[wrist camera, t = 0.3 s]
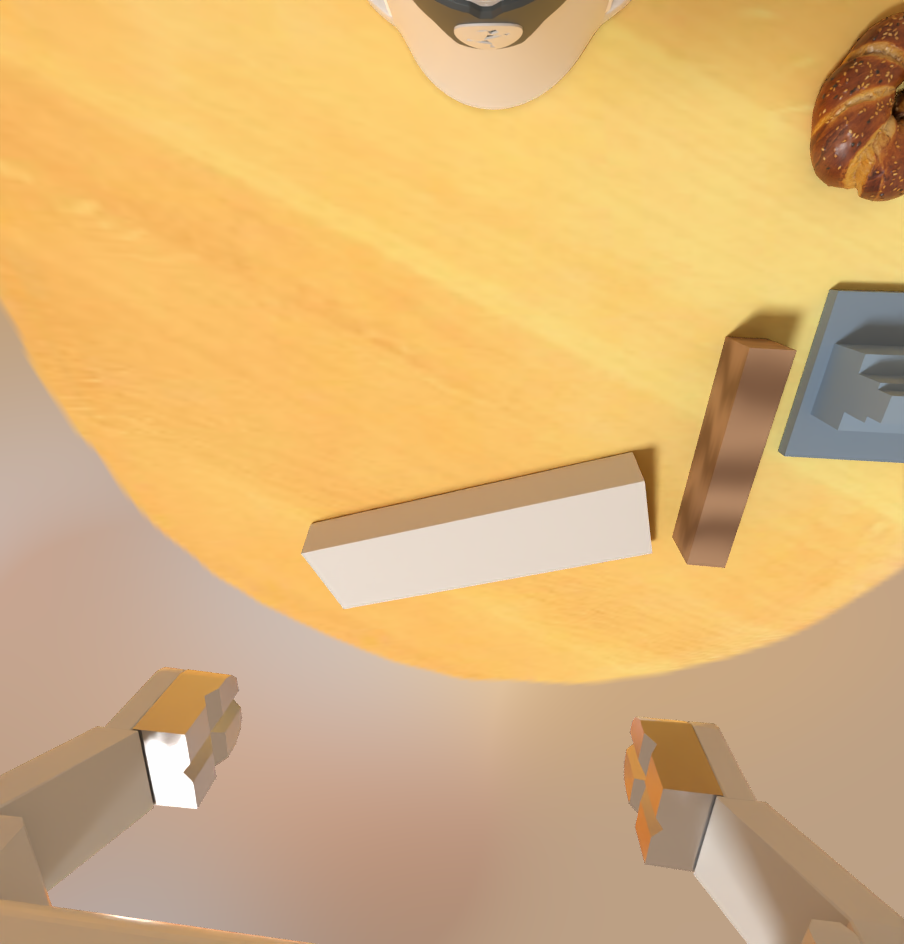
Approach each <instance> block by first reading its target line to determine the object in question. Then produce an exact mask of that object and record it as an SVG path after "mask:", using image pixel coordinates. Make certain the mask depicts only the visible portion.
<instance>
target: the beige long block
mask: <svg viewBox="0 0 904 944" xmlns="http://www.w3.org/2000/svg"><path fill="white" fill-rule="evenodd" d="M651 553H652V546H651V537H650V527H649V518H648V509H647V499H646V490H645V481H644V478H643V476H642V473H641V471H640V469H639V466H638V464H637V461H636V459H635V457H634V454H633V452H629V453H624V454H620V455H615V456H611V457H606V458H602V459H597V460H593V461H588V462H584V463H579V464H574V465H570V466H566V467H561V468H557V469H552V470H548V471H544V472H540V473H535V474H531V475H526V476H522V477H517V478H513V479H508V480H504V481H499V482H495V483H491V484H486V485H481V486H477V487H472V488H468V489H463V490H459V491H454V492H450V493H446V494H441V495H437V496H433V497H428V498H424V499H419V500H415V501H410V502H406V503H402V504H397V505H393V506H388V507H384V508H379V509H374V510H370V511H365V512H361V513H356V514H352V515H348V516H343V517H339V518H335V519H330V520H326V521H321V522H317V523H312V524H311V526H310V528H309V531H308V534H307V537H306V540H305V543H304V546H303V549H302V553H301V554H302V555H303V557H304V558H305V559H306V560H307V562H308V563H309V564H310V566H311V567H312V568H313V570H314V571H315V572H316V574H317V575H318V576H319V577H320V579H321V580H322V581H323V583H324V584H325V585H326V586H327V588H328V589H329V590H330V592H331V593H332V594H333V596H334V597H335V598H336V599H337V601H338V602H339V603H340V605H341V606H342V607H343V609H347V608H352V607H358V606H363V605H369V604H374V603H380V602H385V601H391V600H397V599H402V598H408V597H413V596H419V595H424V594H430V593H435V592H441V591H446V590H452V589H457V588H463V587H468V586H474V585H479V584H485V583H490V582H496V581H502V580H507V579H513V578H518V577H524V576H529V575H535V574H540V573H546V572H551V571H557V570H562V569H568V568H573V567H579V566H584V565H590V564H596V563H601V562H607V561H612V560H618V559H623V558H629V557H634V556H640V555H645V554H651Z"/></svg>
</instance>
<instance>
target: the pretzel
mask: <svg viewBox="0 0 904 944" xmlns="http://www.w3.org/2000/svg"><path fill="white" fill-rule="evenodd" d="M903 81H904V12H902V13H898V14H895V15H891V16H890V17H886V18H885V19H882V20H881V21H880V22H878V23H877V24H875V25H873V26H872V27H870V29H869V30H868V31H867V32H866V33H865V34H864V35H863V36H862V37H861V38H859V39H858V40H857V43H856V44H855V45H854V46H853V47H852V49H851V50H850V52H849V54H848V55H847V57H846V58H845V59H844V61H843V63H842V64H841V66H839V67H838V68H837V69H836V70H835V71H834V72H833V73H832V74H831V76H830V77H829V78H828V79H826V82H825V83H824V84H823V86H822V88H821V91H820V93H819V95H818V97H817V100H816V103H815V107H814V111H813V117H812V131H811V142H810V156H811V161H812V165H813V168H814V170H815V173H816V175H817V176H818V177H819V178H820V179H821V180H822V181H823V182H824V183H826V184H827V185H828V186H833V187H839V188H845V189H851V188H857V190H858V195H859V197H861V198H864V199H868V200H871V201H887V200H891V199H894V198H897V197H899V196H902V195H904V93H902V94H898V95H897V97H896V98H895V95H896V88H897V87H898V86H899V85H900V84H901V83H902V82H903ZM893 104H894V105H893Z"/></svg>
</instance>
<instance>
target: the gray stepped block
mask: <svg viewBox="0 0 904 944" xmlns="http://www.w3.org/2000/svg"><path fill="white" fill-rule="evenodd" d="M778 451H779V452H780V453H781V454H782V455H784V456H791V457H809V458H826V459H844V460H861V461H879V462H896V463H904V292H896V291H862V290H829V293H828V297H827V300H826V303H825V306H824V309H823V312H822V315H821V318H820V321H819V325H818V328H817V331H816V334H815V337H814V340H813V343H812V346H811V350H810V353H809V356H808V359H807V362H806V365H805V368H804V371H803V374H802V378H801V381H800V384H799V387H798V390H797V393H796V396H795V399H794V403H793V406H792V409H791V412H790V415H789V418H788V421H787V424H786V427H785V431H784V434H783V437H782V440H781V443H780V446H779V449H778Z"/></svg>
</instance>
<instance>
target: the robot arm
mask: <svg viewBox="0 0 904 944" xmlns="http://www.w3.org/2000/svg"><path fill="white" fill-rule="evenodd" d="M630 1H631V0H368V2H369V3H370V5H371V6H372V7H373V8H374V9H375V10H376V11H377V12H378V13H379V14H380V15H381V16H382V17H384V18H385V19H386V20H387V21H388V22H390V23H391V24H392V25H394V26H395V27H396V28H397V29H398V31H399V32H400V33H401V35H402V37H403V38H404V40H405V42H406V44H407V46H408V47H409V49H410V51H411V53H412V55H413V57H414V59H415V60H416V62H417V64H418V65H419V67H420V68H421V70H422V71H423V72H424V73H425V75H426V76H427V77H428V78H429V79H430V80H431V82H432V83H433V84H434V85H435V86H437V87H438V88H439V89H440V90H441V91H443V92H444V93H445V94H447V95H448V96H450V97H451V98H453V99H455V100H457V101H459V102H461V103H463V104H466V105H469V106H472V107H476V108H482V109H505V108H511V107H515V106H518V105H521V104H524V103H526V102H529V101H531V100H533V99H535V98H537V97H538V96H540V95H542V94H543V93H545V92H546V91H548V90H549V89H550V88H552V87H553V86H554V85H555V84H556V83H558V82H559V81H560V80H561V79H562V78H563V77H564V76H565V74H566V73H567V72H568V71H569V70H570V69H571V68H572V66H573V65H574V64H575V62H576V61H577V60H578V58H579V57H580V55H581V54H582V52H583V51H584V49H585V47H586V46H587V44H588V43H589V41H590V39H591V38H592V36H593V35H594V34H595V32H596V31H597V30H598V28H599V27H600V26H601V25H602V24H603V23H605V22H606V21H607V20H609V19H610V18H611V17H613V16H614V15H615V14H616V13H618V12H619V11H620V10H621V9H623V8H624V7H625V6H626V5H627V4H628V3H629V2H630ZM238 691H239V689H238V684H237V678H236V677H234V676H232V675H227V674H219V673H212V672H203V671H196V670H189V669H188V670H184V669H176V668H169V667H164V668H162V669H160V670H158V671H157V672H155V674H154V675H153V676H152V677H151V678H150V679H149V680H148V681H147V682H146V683H145V684H144V686H142V687H141V689H140V690H139V691H138V692H137V693H136V694H135V695H134V696H133V697H132V698H131V699H130V700H129V701H128V702H127V703H126V705H125V706H124V707H123V708H122V709H121V710H120V711H119V712H118V713H117V714H116V715H115V716H114V717H113V718H112V719H111V721H110V722H109V723H108V724H107V725H106V726H105V727H99V726H97V727H95V728H93V729H91V730H89V731H87V732H85V733H83V734H81V735H79V736H77V737H75V738H73V739H71V740H69V741H67V742H65V743H63V744H61V745H59V746H57V747H55V748H53V749H52V750H50V751H48V752H45V753H44V754H42V755H39V756H37V757H36V758H34V759H32V760H30V761H28V762H26V763H24V764H22V765H20V766H18V767H16V768H14V769H12V770H10V771H8V772H6V773H4V774H2V775H0V944H314V943H307V942H300V941H293V940H286V939H279V938H272V937H265V936H257V935H250V934H244V933H237V932H230V931H223V930H216V929H208V928H201V927H194V926H187V925H180V924H173V923H166V922H159V921H152V920H145V919H138V918H130V917H124V916H116V915H109V914H102V913H96V912H88V911H81V910H74V909H67V908H60V907H53V906H52V905H51V902H50V899H49V896H48V893H47V892H48V891H49V890H50V889H52V888H53V887H54V886H55V885H57V884H58V883H59V882H60V881H62V880H63V879H64V878H66V877H67V876H68V875H69V874H71V873H72V872H73V871H74V870H75V869H77V868H78V867H79V866H81V865H82V864H83V863H84V862H86V861H87V860H88V859H89V858H91V857H92V856H93V855H94V854H96V853H97V852H98V851H100V850H101V849H102V848H103V847H105V846H106V845H107V844H108V843H110V842H111V841H112V840H114V839H115V838H116V837H117V836H119V835H120V834H121V833H122V832H123V831H125V830H126V829H127V828H129V827H130V826H131V825H132V824H134V823H135V822H136V821H138V820H139V819H140V818H141V817H143V816H144V815H145V814H146V813H148V812H149V811H150V810H151V809H153V808H154V805H161V806H172V807H184V808H195V809H198V807H199V805H200V804H201V802H202V800H203V799H204V797H205V795H206V794H207V792H208V790H209V789H210V787H211V785H212V784H213V782H214V780H215V779H216V771H215V766H216V765H217V764H219V763H221V762H222V761H223V760H225V759H226V758H228V757H229V755H230V753H231V751H232V750H233V748H234V746H235V745H236V742H237V739H238V736H239V732H240V730H241V719H242V715H241V707H240V706H239V705H238V704H237V703H236V702H235V700H234V697H235V695H236V694H237V692H238ZM630 734H631V737H632V741H633V745H631V746H630V747H629V748H628V749H626V755H625V761H624V781H625V788H626V793H627V797H628V801H629V804H630V805H631V806H632V807H633V808H634V810H635V811H636V812H637V813H638V815H637V820H636V824H635V829H636V833H637V837H638V840H639V844H640V848H641V852H642V856H643V860H644V863H645V864H646V865H654V866H660V867H666V868H673V869H679V870H685V871H692V872H694V876H696V878H697V879H698V881H699V882H700V883H701V885H702V886H703V887H704V888H705V890H706V891H707V892H708V893H709V895H710V896H711V897H712V899H713V900H714V901H715V902H716V904H717V905H718V906H719V908H720V909H721V910H722V911H723V913H724V914H725V915H726V917H727V918H728V919H729V920H730V922H731V923H732V924H733V925H734V927H735V928H736V929H737V931H738V932H739V933H740V935H741V936H742V937H743V938H744V940H745V941H746V942H747V944H904V919H903V918H902V917H901V916H900V915H899V914H898V913H897V912H895V911H894V910H893V909H892V908H891V907H889V906H888V905H887V904H886V903H885V902H884V901H882V900H881V899H880V898H879V897H878V896H876V895H875V894H874V893H873V892H872V891H871V890H869V889H868V888H867V887H866V886H865V885H863V884H862V883H861V882H860V881H859V880H858V879H856V878H855V877H854V876H853V875H852V874H850V873H849V872H848V871H847V870H846V869H845V868H843V867H842V866H841V865H840V864H838V863H837V862H836V861H835V860H834V859H833V858H831V857H830V856H829V855H828V854H827V853H826V852H824V851H823V850H822V849H821V848H820V847H818V846H817V845H816V844H815V843H814V842H812V841H811V840H810V839H809V838H808V837H806V836H805V835H804V834H803V833H802V832H801V831H799V830H798V829H797V828H796V827H795V826H794V825H792V824H791V823H790V822H789V821H788V820H787V819H785V818H784V817H783V816H782V815H781V814H779V813H778V812H777V811H776V810H775V809H773V808H772V807H771V806H770V805H769V804H768V803H766V802H762V801H757V799H756V798H755V796H754V794H753V792H752V790H751V788H750V786H749V784H748V783H747V780H746V778H745V776H744V775H743V773H742V771H741V769H740V767H739V765H738V763H737V761H736V759H735V757H734V756H733V754H732V752H731V750H730V748H729V746H728V744H727V742H726V740H725V738H724V736H723V734H722V732H721V731H720V728H719V727H717V726H716V725H715V724H713V723H701V722H690V721H688V722H685V721H677V720H666V719H656V718H645V717H635V718H634V720H633V721H632V725H631V729H630Z"/></svg>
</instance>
